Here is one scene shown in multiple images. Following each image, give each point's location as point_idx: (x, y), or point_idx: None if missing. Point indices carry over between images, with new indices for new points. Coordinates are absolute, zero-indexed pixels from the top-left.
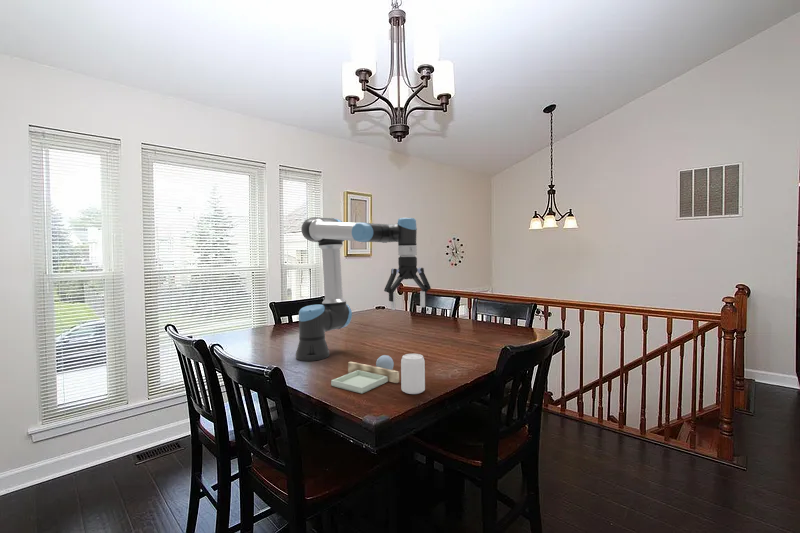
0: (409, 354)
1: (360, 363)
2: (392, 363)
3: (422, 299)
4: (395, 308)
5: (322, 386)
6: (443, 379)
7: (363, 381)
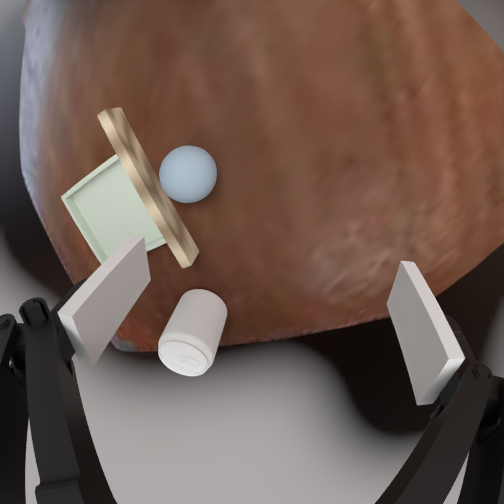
0: (183, 343)
1: (121, 143)
2: (202, 198)
3: (406, 334)
4: (146, 285)
5: (55, 187)
6: (303, 292)
7: (124, 209)
